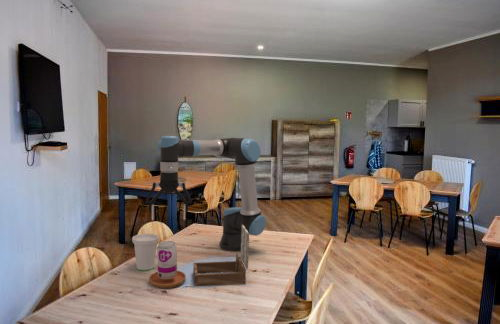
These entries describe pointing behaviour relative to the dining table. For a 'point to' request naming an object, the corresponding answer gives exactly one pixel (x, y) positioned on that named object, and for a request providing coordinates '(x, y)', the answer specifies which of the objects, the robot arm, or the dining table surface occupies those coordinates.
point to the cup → (145, 250)
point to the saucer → (167, 280)
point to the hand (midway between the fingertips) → (168, 219)
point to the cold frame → (224, 267)
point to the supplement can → (167, 260)
